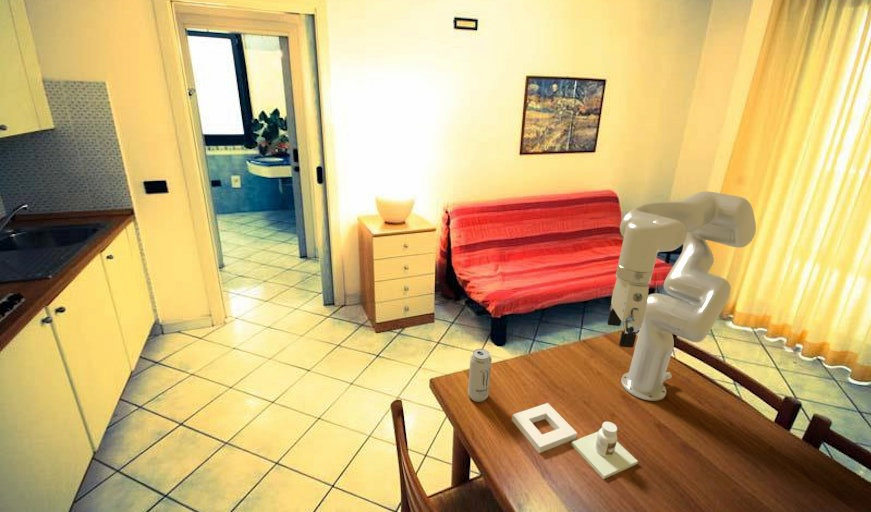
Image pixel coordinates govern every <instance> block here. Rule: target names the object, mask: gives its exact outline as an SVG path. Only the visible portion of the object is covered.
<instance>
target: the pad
mask: <svg viewBox="0 0 871 512" xmlns="http://www.w3.org/2000/svg"><path fill="white" fill-rule="evenodd" d="M598 432H599V430H598V431H596V432H593V433H591V434H588V435H586V436H583V437H580V438H576V439H574V440H572V441H571V446H572V447H573V448H574V449H575V451H577V452H578V453H579V455H580V456H581V457H582V458H583V459H584V461H586V462H587V463H588V465H590V466H591V468H592V469H593V470H594V471H595V472H596V473H597V474H598V475H599V477H600V478H601V479H603V480H605V479H607V478H609V477H612V476H614V475H616V474H618V473H621V472H622V471H625V470H627V469H629V468H631V467H634V466H636V465H637V464H638V459H636V458H635V457H634V455H632V454H631V453H630V452H629V451H628V450H627V449H626V448H625V447H623V445H622V444H620V442H618V441H617V442H616V446H615V450H614V454H613V455H612V456H610V457H605V456H602V455H600V454H599V453H598V452H597V451H596V449H595V445H596V441H597V437H598Z"/></svg>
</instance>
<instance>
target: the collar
mask: <svg viewBox="0 0 871 512" xmlns="http://www.w3.org/2000/svg"><path fill="white" fill-rule="evenodd" d="M511 417H512V418H511V422H512V423H514V425H515V426H516V427H517V429H519V430H520V432H521V433H522V434H523V435H524V436H525V438H526V440H527V441H528V442H529V443H530V444H531V445H532V446H533V448H534V450H536V451H537V453H538V454H541V453H542V452H546V451H549V450H551V449H553V448H556V447H558V446H561V445H564V444H567V443H569V442H572V441H575V440H577V436H578V432H577V431H576V430H575V429H574V428H573V427H572V426H571V425H570V424H569V423H568V422H567V421H566V420H565V419H564V418H563V417H562V416H561V414H559V413H558V412H557V411H556V410H555V409H554V407H552V406H551V405H550V403H549V402H546V403H543V404H541V405H540V404H539V405H537V406H534V407H531V408H527V409H526V410H522V411H519V412H515V413H513V414H512V416H511ZM543 420H546V422H547V423H548V424H549V425H550V426H551V428H553V430H551V431H549V432H546V433H543V434H542V433H541V431H540V430H539V429H538V428H537V427H536V426H535V424H534V423H537V422H540V421H543Z"/></svg>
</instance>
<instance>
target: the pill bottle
mask: <svg viewBox="0 0 871 512" xmlns="http://www.w3.org/2000/svg"><path fill="white" fill-rule="evenodd" d="M598 431H599V432H598ZM598 431H597V432H598V437H597V441H596V445H595V449H596V451H597V452H598V453H599V454H600V455H602V456H605V457H610V456H612V455H613V454H614V450H615V446H616V442H618V435H617V434H618V433H617V431H618V427H617V425H616V424H615V423H613V422H611V421H604V422H603V423H602V425H601V428H600V429H599V430H598Z"/></svg>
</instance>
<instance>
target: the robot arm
mask: <svg viewBox="0 0 871 512" xmlns="http://www.w3.org/2000/svg"><path fill="white" fill-rule="evenodd" d="M756 223H757V222H756V217H755V213H754V209H753V207H752V204H751V203H750V202H749V200H748V199H746V198H745V197H742V196H738V195H737V196H736V195H732V194H727V193H726V194H725V193H721V192H720V193H719V192H715V191H705V190H704V191H699V192H696V193H695V194H692V195H690V196H688V197H686V198H684V199H682V200H680V201H667V202H666V201H665V202H653V203H651V202H650V203H646V204H641V205H638V206H637V207H635V208H633V209H631V210H630V211H628V212H627V213H626V214H625V215H624V217H622V220H621V222H620V225H619V232H620V234H621V236H622V238H623V240H622V245H621V248H620V254H619V258H618V262H617V263H618V264H617V268H616V272H615V278H616V279H615V284H614V286H613V290H612V294H611V300H610V302H611V303H610V304H611V305H610V307H609V313H608V318H607V322H606V324H607V325H608V326H612V327H613V326H615V327H620V326H621V324H622V323H623V330H622V331H621V335H620V338H619V342H618V346H619V347H621V348H631V349H632V348H634V351H633V355H632V358H631V359H632V360H631V361H630V366H629V371H628V372H626V373H624V374H623V375H622V376H621V379H620V380H621V381H620V382H621V385H622V386H623V388H624V389H625V391H627V393H630V394H631V395H633V396H634V397H636V398H639V399H642V400H645V401H650V402H651V401H652V402H656V401H657V402H658V401H661V400H663V399H664V398H665V397H666V395H667V389H666V386H665V385H664V382H665V381H666V380H670V379H671V378H672V377H673V375H672V373H671V372H670V371H667V369H668V366H669V363H670V360H671V357H672V352H673V349H674V345H675V342H674V336H673V335H675V336H677V337H679V338H681V339H684V340H687V341H689V342H691V343H701V342H702V341H704V340H705V338H706V337H707V336H708V335H709V333H710V331H711V330H712V328H713V326H714V325H715V323H716V322H717V320H718V318H719V317H720V314H721V313H722V311H723V309H724V308H725V306H726V304H727V302H728V300H729V298H730V294H731V284H730V283H729V281H728V280H727V279H726V278H723V277H721V276H718V275H715V274H712V273H710V269H711V268H712V266H713V265H714V262H715V258H714V254H713V252H712V250H711V248H710V246H709V245H708V241H710V242H713V243H717V244H721V245H724V246H728V247H733V248H739V249H740V248H744V247H747V246H748V245H749V244H751V243H752V241H753V240H754V238H755V236H756V231H757V224H756ZM680 247H682V251H681V253H680V255H679V256H678V258H677V260H676V261H675V262H674V264H673V266H672V267H671V269H670V271H669V273H668V274H667V276H666V278H665V280H664V282H663V290H664V291H665V292H666V294H662V293H657V292H656V293H650V294H649V289H650V288H649V285H650V284H651V281H652V277H653V273H654V267H655V265H656V261H657V256H658V253H661V252H662V253H663V252H673V251H675V250H677V249H678V248H680ZM667 293H668V294H669V295H667ZM670 295H671V296H670ZM677 298H678V299H677ZM629 324H631V325H632V326H629ZM637 335H638V336H637ZM636 338H637V339H636ZM635 341H636V343H635ZM634 346H635V347H634Z"/></svg>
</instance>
